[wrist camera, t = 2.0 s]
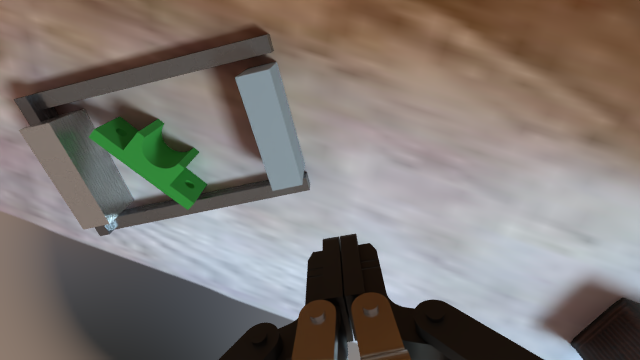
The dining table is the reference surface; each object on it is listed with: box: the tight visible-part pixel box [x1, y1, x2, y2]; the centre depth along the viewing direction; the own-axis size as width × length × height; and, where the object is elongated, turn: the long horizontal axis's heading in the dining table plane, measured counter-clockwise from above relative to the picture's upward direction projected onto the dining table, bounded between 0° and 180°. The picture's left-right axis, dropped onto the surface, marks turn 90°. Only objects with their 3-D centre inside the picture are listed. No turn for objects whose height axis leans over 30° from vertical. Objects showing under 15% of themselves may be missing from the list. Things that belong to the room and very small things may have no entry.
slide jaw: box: [235, 62, 305, 191], centre depth 32 cm, size 11×3×5 cm, turn 13°
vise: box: [14, 34, 310, 236], centre depth 34 cm, size 16×25×5 cm, turn 103°
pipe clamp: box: [89, 117, 207, 210], centre depth 34 cm, size 11×4×5 cm, turn 45°
